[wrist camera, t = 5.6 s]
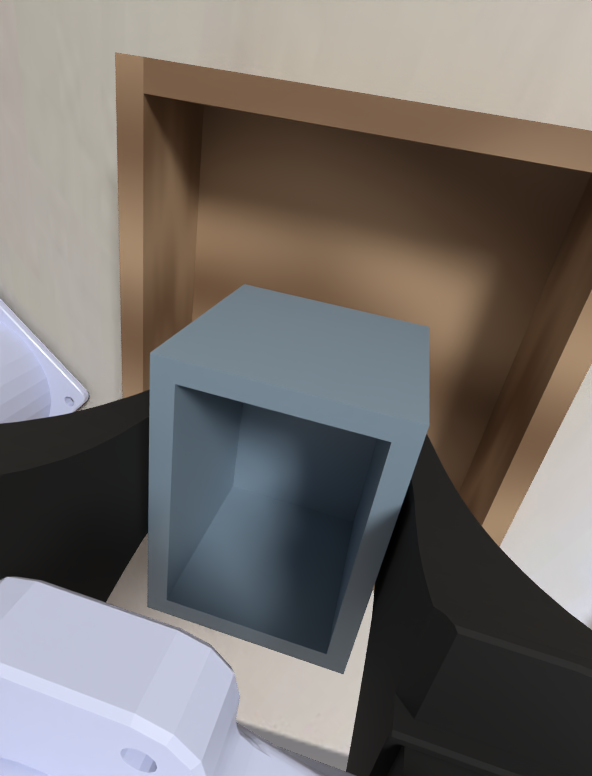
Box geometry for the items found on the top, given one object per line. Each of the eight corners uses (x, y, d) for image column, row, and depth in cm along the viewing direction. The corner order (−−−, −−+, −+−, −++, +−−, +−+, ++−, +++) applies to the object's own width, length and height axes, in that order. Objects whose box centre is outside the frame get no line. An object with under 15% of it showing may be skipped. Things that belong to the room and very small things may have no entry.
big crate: (457, 534, 22) (463, 618, 18) (174, 452, 24) (125, 512, 20) (625, 148, 14) (699, 149, 10) (190, 75, 16) (115, 52, 12)
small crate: (367, 527, 16) (343, 674, 11) (223, 484, 16) (147, 606, 12) (429, 327, 12) (429, 425, 8) (244, 284, 13) (149, 352, 9)
